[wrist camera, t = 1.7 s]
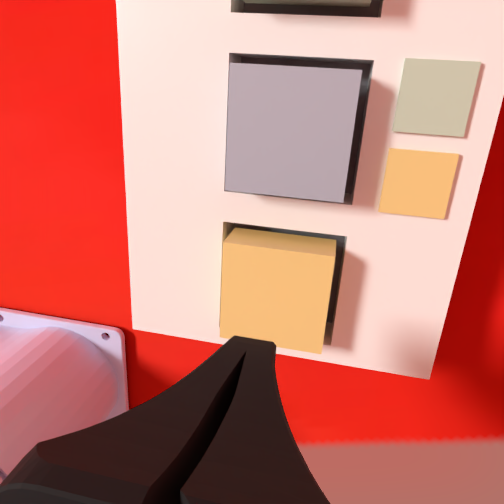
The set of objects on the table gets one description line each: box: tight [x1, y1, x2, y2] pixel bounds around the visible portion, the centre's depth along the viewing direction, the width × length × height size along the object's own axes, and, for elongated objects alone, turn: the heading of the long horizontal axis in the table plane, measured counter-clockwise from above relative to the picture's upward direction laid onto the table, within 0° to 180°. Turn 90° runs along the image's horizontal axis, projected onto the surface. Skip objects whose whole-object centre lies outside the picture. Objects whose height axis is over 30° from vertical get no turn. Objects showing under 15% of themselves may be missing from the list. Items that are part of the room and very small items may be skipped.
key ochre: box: [220, 227, 336, 354], centre depth 18 cm, size 4×4×2 cm
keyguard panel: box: [116, 0, 504, 379], centre depth 17 cm, size 14×20×3 cm
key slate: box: [225, 63, 362, 203], centre depth 16 cm, size 4×4×2 cm
